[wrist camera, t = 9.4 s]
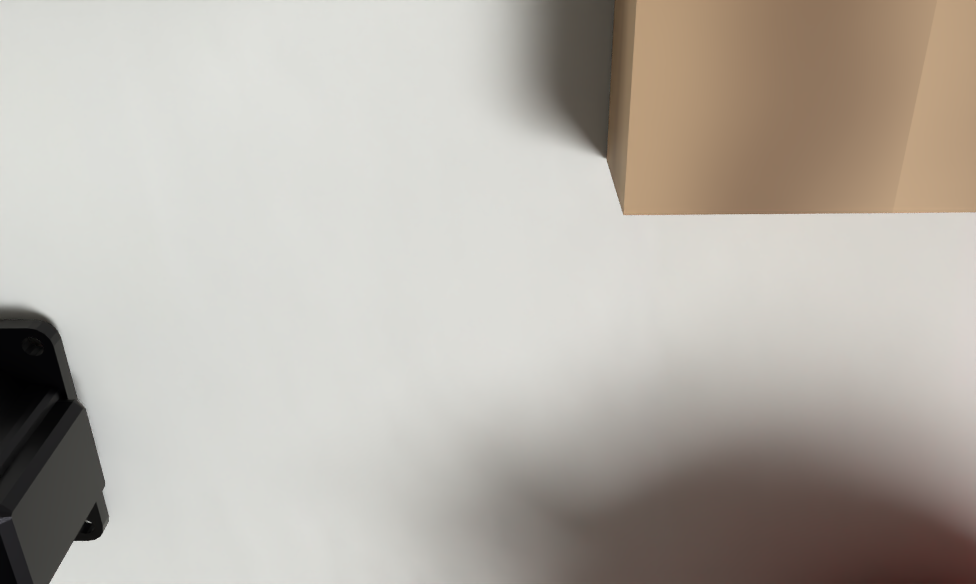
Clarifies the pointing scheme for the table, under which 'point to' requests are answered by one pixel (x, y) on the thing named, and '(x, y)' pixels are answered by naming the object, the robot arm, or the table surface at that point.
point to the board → (793, 106)
